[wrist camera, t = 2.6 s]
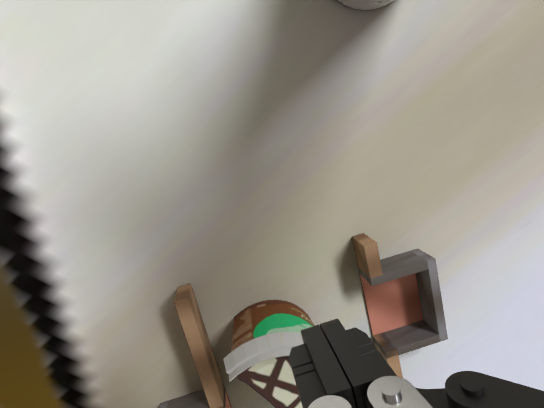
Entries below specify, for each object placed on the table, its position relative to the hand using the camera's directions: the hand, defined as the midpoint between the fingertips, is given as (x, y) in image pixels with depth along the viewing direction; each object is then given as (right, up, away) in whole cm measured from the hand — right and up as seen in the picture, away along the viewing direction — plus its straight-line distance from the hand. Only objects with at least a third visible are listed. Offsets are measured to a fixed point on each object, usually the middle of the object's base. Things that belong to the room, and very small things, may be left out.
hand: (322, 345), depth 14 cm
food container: (0, -6, +22) cm, 23 cm away
